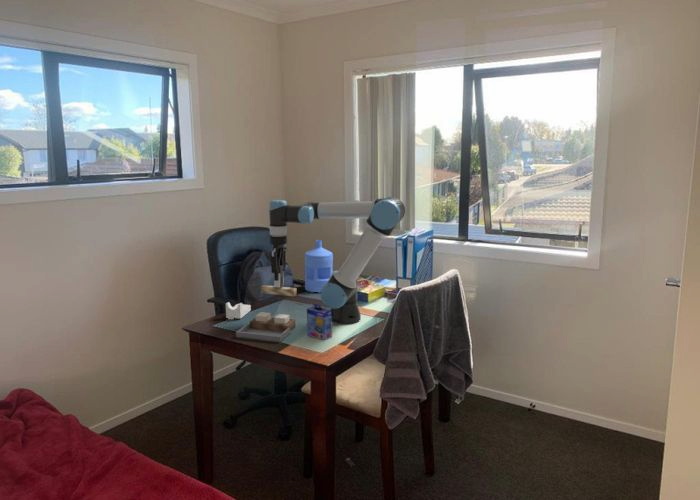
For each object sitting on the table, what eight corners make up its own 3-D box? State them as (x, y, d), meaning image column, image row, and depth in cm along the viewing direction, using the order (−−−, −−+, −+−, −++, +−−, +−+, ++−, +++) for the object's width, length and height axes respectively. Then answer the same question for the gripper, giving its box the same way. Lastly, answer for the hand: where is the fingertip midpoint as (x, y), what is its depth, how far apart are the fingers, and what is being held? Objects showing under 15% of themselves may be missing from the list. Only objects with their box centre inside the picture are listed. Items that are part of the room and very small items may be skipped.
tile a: (289, 320, 238) (289, 315, 238) (285, 323, 234) (285, 318, 233) (279, 319, 240) (278, 313, 239) (274, 322, 235) (274, 317, 234)
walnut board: (295, 326, 240) (295, 319, 240) (287, 333, 232) (287, 325, 231) (258, 322, 245) (258, 315, 244) (249, 329, 237) (249, 321, 236)
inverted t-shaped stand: (296, 294, 243) (296, 266, 240) (294, 296, 240) (294, 268, 237) (264, 291, 247) (263, 263, 244) (261, 293, 244) (260, 265, 242)
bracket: (240, 320, 249) (240, 304, 248) (226, 319, 250) (225, 303, 249) (250, 311, 262) (250, 297, 260) (237, 311, 263) (236, 296, 261)
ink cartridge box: (306, 335, 230) (306, 303, 227) (314, 332, 234) (314, 300, 231) (324, 340, 224) (324, 307, 221) (332, 336, 229) (332, 304, 226)
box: (289, 333, 232) (289, 328, 231) (280, 342, 221) (279, 337, 221) (247, 329, 237) (247, 323, 236) (236, 337, 226) (235, 332, 226)
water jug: (309, 285, 311) (309, 237, 305) (335, 286, 307) (336, 238, 302) (301, 292, 296) (300, 242, 290) (328, 294, 292) (328, 243, 287)
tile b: (270, 318, 241) (270, 313, 240) (266, 321, 236) (266, 316, 235) (260, 317, 242) (260, 312, 242) (255, 320, 237) (255, 315, 237)
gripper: (277, 231, 247) (278, 281, 251) (262, 237, 231) (263, 290, 236) (292, 232, 245) (293, 282, 249) (279, 238, 229) (279, 291, 234)
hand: (278, 286), depth 243 cm, fingers closed on inverted t-shaped stand, 3 cm apart
